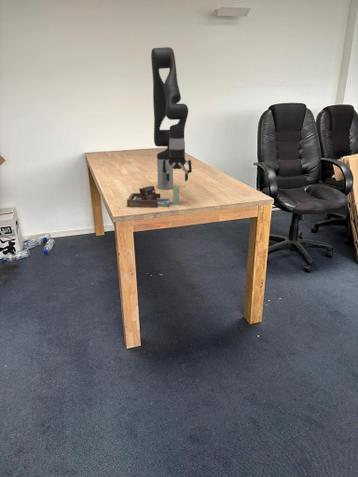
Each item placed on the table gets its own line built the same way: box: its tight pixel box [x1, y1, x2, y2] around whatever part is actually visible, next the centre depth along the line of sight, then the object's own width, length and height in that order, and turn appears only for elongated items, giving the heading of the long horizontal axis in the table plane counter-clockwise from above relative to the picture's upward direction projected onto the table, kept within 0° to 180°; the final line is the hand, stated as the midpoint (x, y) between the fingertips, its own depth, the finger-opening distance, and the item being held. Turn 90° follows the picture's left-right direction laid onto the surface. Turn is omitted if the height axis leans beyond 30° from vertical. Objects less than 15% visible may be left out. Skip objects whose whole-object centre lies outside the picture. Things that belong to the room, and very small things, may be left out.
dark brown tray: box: [126, 192, 162, 209], centre depth 185 cm, size 14×15×4 cm
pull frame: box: [133, 185, 180, 208], centre depth 183 cm, size 9×24×9 cm, turn 88°
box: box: [138, 185, 157, 200], centre depth 183 cm, size 6×6×7 cm
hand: (177, 181), depth 180 cm, fingers open, 8 cm apart
